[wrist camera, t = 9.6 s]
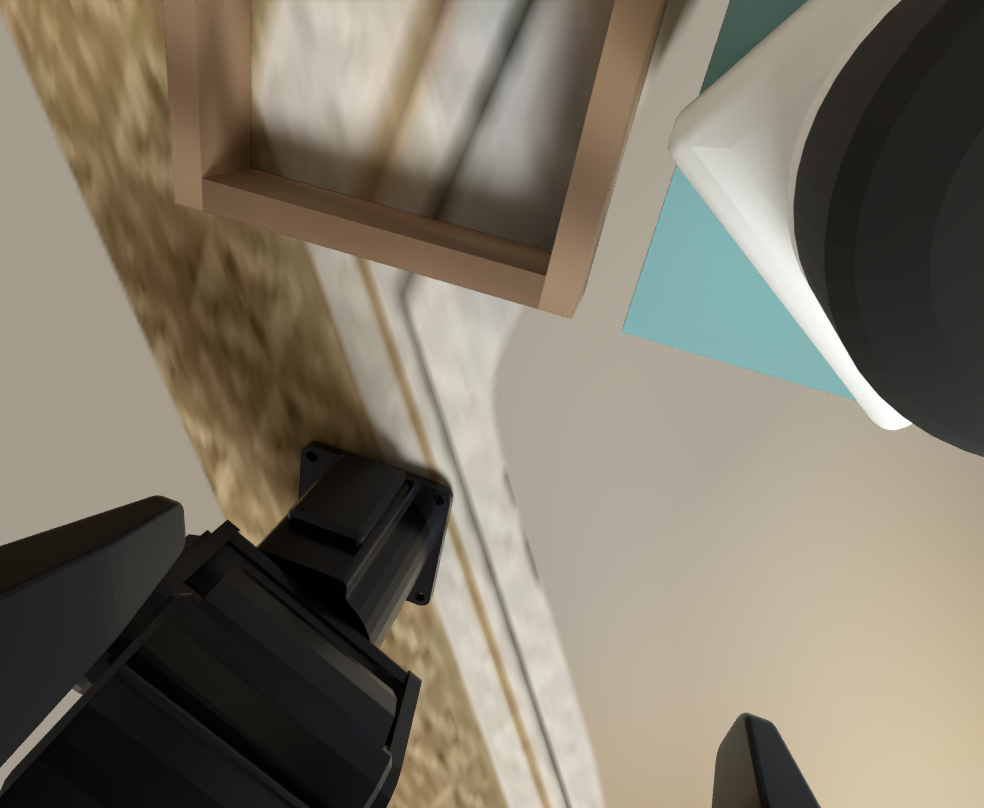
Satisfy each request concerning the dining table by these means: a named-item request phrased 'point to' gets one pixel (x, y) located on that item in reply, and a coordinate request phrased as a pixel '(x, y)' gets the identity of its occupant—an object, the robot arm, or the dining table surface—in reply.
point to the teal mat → (722, 260)
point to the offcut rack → (377, 228)
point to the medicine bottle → (862, 195)
